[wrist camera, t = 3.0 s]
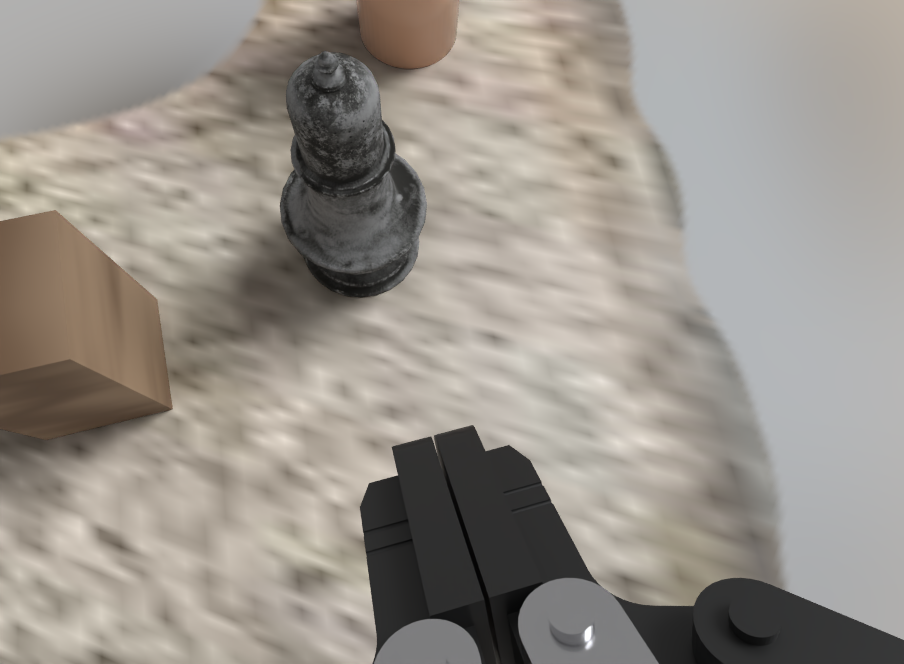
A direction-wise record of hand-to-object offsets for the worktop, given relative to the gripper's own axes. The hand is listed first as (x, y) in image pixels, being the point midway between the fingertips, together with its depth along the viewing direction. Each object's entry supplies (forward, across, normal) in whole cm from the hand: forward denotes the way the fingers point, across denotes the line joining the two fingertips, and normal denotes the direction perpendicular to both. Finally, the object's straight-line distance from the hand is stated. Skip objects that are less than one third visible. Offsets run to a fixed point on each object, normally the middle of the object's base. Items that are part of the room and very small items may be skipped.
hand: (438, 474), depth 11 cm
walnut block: (+17, +12, +4) cm, 21 cm away
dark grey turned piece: (+19, 0, +2) cm, 19 cm away
